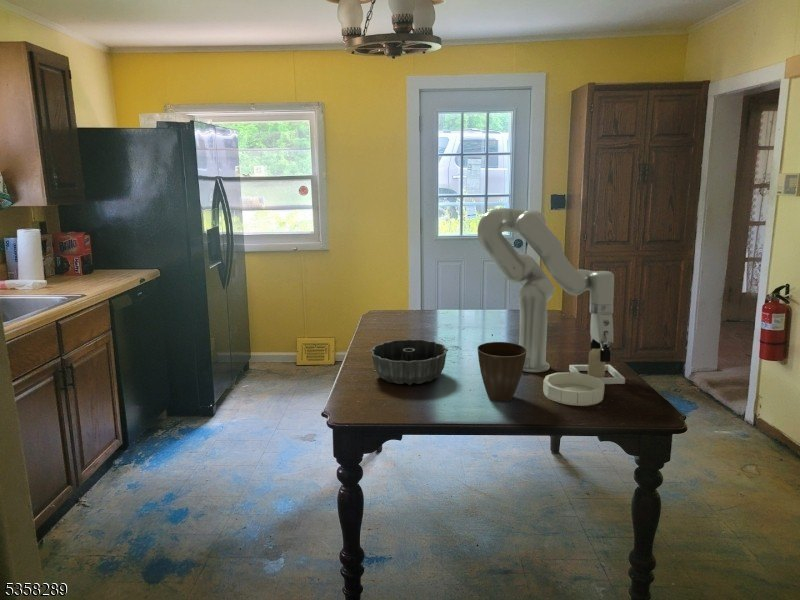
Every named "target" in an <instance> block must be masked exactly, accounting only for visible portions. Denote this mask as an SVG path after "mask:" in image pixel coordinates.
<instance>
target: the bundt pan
mask: <svg viewBox="0 0 800 600" xmlns="http://www.w3.org/2000/svg"><path fill="white" fill-rule="evenodd" d="M448 351H449V349H448V348H447V347H446V346H445V345H444V344H442V343H439V342H436V341H431V340H427V339H410V338H409V339H395V340H391V341H388V342H387V341H384V342H381V343H380V344H376V345H374V346H373V347H372V349H370V350H369V353H370V354H371V356H372V362H373V366H374V370H375V371H376V373H377V375H378V376H379V378H381V379H382V380H385V382H387V383H394V384H396V385H397V384H398V385H404V384H407V385H408V386H411V385H412V384H416V385H418V384H419V385H421V384H423V383H425V382H426V383H430V382H432V381H433V380H434V379H437V378H438V377H439V376H440V375H441V374H442V372H443V370H444V368H445V364H446V360H447V359H446V358H447V352H448Z"/></svg>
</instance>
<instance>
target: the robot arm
mask: <svg viewBox="0 0 800 600" xmlns="http://www.w3.org/2000/svg"><path fill="white" fill-rule="evenodd" d="M546 224H547V222H546V218H545V216H544V214H543V213H541V212H540V211H538V210H531V209H519V208H518V209H517V208H507V207H506V208H505V207H502V208H496V209H495V208H494V209H491V210H489V211H487V212H485V213H484V214H483V215H482V216H481V218H480V219H479V222H478V225H477V238H478V241H479V244H480V245H481V246H482V248H483V249H484V251H485V252H486V253H487V255H488V256H489V257H490V259H491V260H492V262H494V264H495V265H496V267H497V268H498V269H499V271H500V272H501V274H503V276H504V277H505V278H506V280H507V281H508V282H510V283H513V284H518V283H520V284H521V286H522V287H521V288H520V291H519V294H518V306H519V330H518V331H519V332H518V334H519V335H518V337H519V338H518V345H521V346H523V347H525V348H526V349H527V353H526V358H525V363H524V367H523V371H522V372H524V373H525V372H526V373H543V372H546V371H548V370H550V366H551V365H550V364H549V363H548V362H547V361H546V358H547V356H546V355H547V337H548V332H547V331H548V306H547V305H548V302H549V301H550V300H551V299H552V298H553V296H554V293H555V288H554V287H555V286H554V283H553V282H552V281H551V279H550V277H549V276H548V275H547V274H546V272H545V271H544V270H543V269H542V267H541V266H540V265H539V263H537V262H536V260H535V258H533V257H532V256H530V255H529V254H526V253H518V251H517V250H516V249H515V247H514V246H513V245H512V244H511V242H510V241H509V240H508V239H507V238H506V237H505V236H504V235H503V233H504V232H507V233H508V232H509V233H515V234H516V233H518V234H519V235H520V236H521V238H523V239H524V240H525V242H526V244H528V245H529V246H530V247H531V248H532V250H533V251H534V252H535V253H536V254H537V255H538V257H539V258H540V259H541V261H542V263H543V264H544V266H545V268H546V270H547V271H548V273H549V275H550V276H551V277H552V278H553V280H554V281H555V282H556V283H557V284H558V285H559V287H561V289H562V290H563V291H564V292H565V293H567V294H569V295H571V296H579V295H581V294H583V293H584V292H586V291H589V313H590V314H591V315H590V327H589V329H590V330H589V332H590V351H591V350H592V349H594V348H596V349H599V348H601V350H600V361H601V362H605V363H608V362H609V363H610V362H611V350H612V348H611V347H612V343H614V319H613V314H614V293H615V275H614V273H613V272H612V271H610V270H609V271H607V270H597V271H596V270H588V269H585V268H584V269H583V268H582V269H581V268H577V269H576V268H575V267H574V266H573V265H572V263H571V262H570V261H569V260H568V257H567V256H566V254H565V253H564V249H563V245H562V242H561V240H560V239H559V238H558V237H557V236H556V235H555V234H554V233H553V231H552V230H551V229H550V228H549V227H548V226H547V225H546Z"/></svg>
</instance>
